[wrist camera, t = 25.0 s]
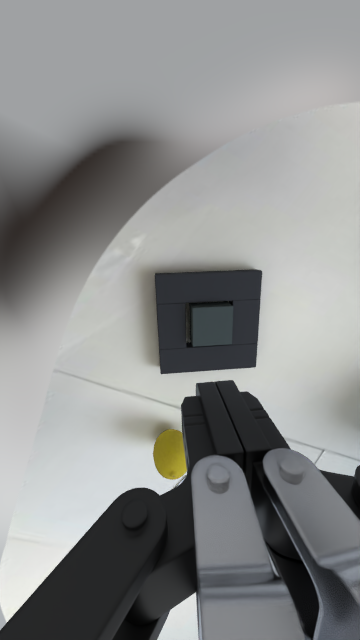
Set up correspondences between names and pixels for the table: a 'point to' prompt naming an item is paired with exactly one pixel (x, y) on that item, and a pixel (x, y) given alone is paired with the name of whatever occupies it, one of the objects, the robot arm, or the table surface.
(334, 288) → the table surface
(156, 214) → the table surface
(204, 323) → the dark grey square block
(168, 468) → the lemon
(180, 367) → the base pad
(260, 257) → the table surface
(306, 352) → the table surface
